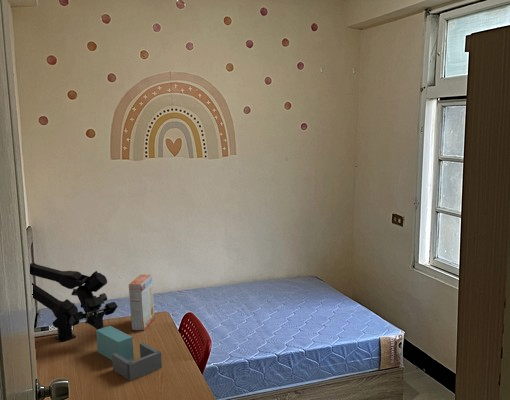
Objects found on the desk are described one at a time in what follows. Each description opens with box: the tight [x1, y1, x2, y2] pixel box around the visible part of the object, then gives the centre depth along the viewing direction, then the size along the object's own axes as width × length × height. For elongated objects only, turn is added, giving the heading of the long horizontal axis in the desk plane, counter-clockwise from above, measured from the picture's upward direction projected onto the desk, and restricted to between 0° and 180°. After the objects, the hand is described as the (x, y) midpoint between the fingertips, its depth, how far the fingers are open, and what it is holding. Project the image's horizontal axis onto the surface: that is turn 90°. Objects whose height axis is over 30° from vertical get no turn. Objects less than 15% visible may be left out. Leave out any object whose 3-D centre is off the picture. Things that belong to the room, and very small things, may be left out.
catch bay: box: [111, 342, 163, 382], centre depth 180 cm, size 12×13×6 cm
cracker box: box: [128, 274, 155, 331], centre depth 219 cm, size 14×6×21 cm, turn 172°
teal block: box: [95, 325, 135, 362], centre depth 191 cm, size 16×6×9 cm, turn 47°
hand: (102, 331), depth 197 cm, fingers closed
